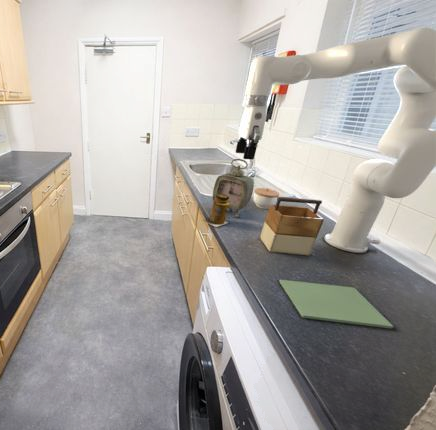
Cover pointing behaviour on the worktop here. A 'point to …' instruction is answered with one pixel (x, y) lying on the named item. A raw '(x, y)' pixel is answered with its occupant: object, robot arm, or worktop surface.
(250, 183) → the tabletop clock
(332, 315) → the green mat
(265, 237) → the cream basket
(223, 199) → the condiment
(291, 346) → the worktop surface
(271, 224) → the wooden basket
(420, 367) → the worktop surface
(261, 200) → the trinket box
